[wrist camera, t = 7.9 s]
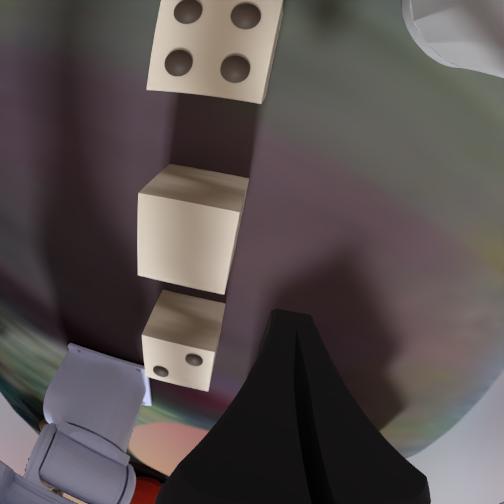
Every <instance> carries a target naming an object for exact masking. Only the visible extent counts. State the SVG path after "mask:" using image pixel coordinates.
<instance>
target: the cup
mask: <svg viewBox="0 0 504 504" xmlns="http://www.w3.org/2000/svg"><path fill="white" fill-rule="evenodd" d="M402 13H403V18H404V21H405V24H406V27H407V29H408V31H409V33H410V35H411V36H412V38H413V40H414V41H415V42H416V44H417V45H418V46H419V47H420V48H421V49H422V50H423V51H424V52H425V53H426V54H427V55H428V56H429V57H431V58H432V59H434V60H435V61H437V62H439V63H441V64H443V65H446V66H449V67H454V68H466V69H470V70H475V71H479V72H483V73H487V74H491V75H495V76H498V77H502V78H504V0H402Z"/></svg>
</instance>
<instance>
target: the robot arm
mask: <svg viewBox="0 0 504 504" xmlns="http://www.w3.org/2000/svg"><path fill="white" fill-rule="evenodd" d="M68 348H69V351H68V353H67V355H66V357H65V358H64V360H63V362H62V364H61V365H60V367H59V369H58V371H57V372H56V374H55V376H54V378H53V380H52V382H51V383H50V385H49V387H48V389H47V392H46V395H45V399H44V404H43V411H44V416H45V419H46V421H47V422H48V423H49V424H45V425H44V427H43V429H42V431H41V433H40V435H39V437H38V440H37V442H36V444H35V446H34V448H33V451H32V453H31V455H30V458H29V460H28V463H27V466H26V467H27V468H26V471H25V473H24V476H23V477H22V476H20V475H18V474H17V473H15V472H14V471H13V470H12V469H11V468H10V467H9V466H7V465H6V464H5V463H3V462H2V461H0V504H77V503H75V502H73V501H71V500H69V499H67V498H65V497H63V496H61V495H59V494H57V493H55V492H53V491H51V490H50V489H48V488H46V487H45V486H43V484H42V483H41V481H40V480H42V481H44V482H46V483H47V484H49V485H51V486H53V487H55V488H57V489H58V490H60V491H62V492H64V493H66V494H68V495H71V496H72V497H74V498H77V499H79V500H81V501H83V502H85V503H87V504H129V503H130V501H131V499H132V497H133V494H134V490H135V486H136V475H135V472H134V469H133V467H132V465H130V464H128V462H129V459H130V456H129V455H127V454H126V451H127V447H128V444H129V441H130V438H131V435H132V432H133V429H134V426H135V423H136V420H137V417H138V414H139V411H140V408H141V405H142V404H143V405H146V406H151V405H152V397H151V388H150V379H149V377H146V375H145V366H142V365H139V364H135V363H132V362H128V361H125V360H121V359H118V358H115V357H112V356H109V355H105V354H102V353H99V352H96V351H93V350H90V349H87V348H84V347H81V346H79V345H76V344H73V343H69V345H68ZM430 503H431V499H430V492H429V486H428V482H427V477H426V476H425V475H424V474H423V473H421V472H420V471H419V470H418V469H416V468H415V467H414V466H413V465H412V464H411V463H409V462H408V461H407V460H406V459H405V458H404V457H403V456H402V455H401V454H400V453H399V452H398V451H397V450H396V449H395V448H394V447H393V446H392V445H391V444H390V443H389V442H388V441H387V440H386V439H385V438H384V437H383V436H382V434H381V433H380V432H379V431H378V430H377V429H376V427H375V426H374V425H373V424H372V423H371V422H370V420H369V419H368V418H367V416H366V415H365V414H364V412H363V411H362V410H361V408H360V407H359V405H358V404H357V402H356V401H355V399H354V398H353V396H352V395H351V393H350V392H349V390H348V388H347V387H346V385H345V383H344V382H343V380H342V378H341V376H340V375H339V373H338V371H337V369H336V367H335V365H334V363H333V361H332V360H331V358H330V356H329V354H328V352H327V350H326V348H325V345H324V343H323V341H322V339H321V337H320V335H319V332H318V330H317V328H316V325H315V323H314V321H313V318H312V317H311V315H307V314H301V313H296V312H290V311H284V310H279V309H274V310H272V311H271V314H270V317H269V320H268V323H267V327H266V330H265V333H264V336H263V339H262V342H261V346H260V352H259V357H258V359H257V361H256V363H255V365H254V366H253V368H252V370H251V372H250V374H249V376H248V378H247V379H246V381H245V383H244V384H243V386H242V388H241V389H240V391H239V392H238V394H237V396H236V397H235V398H234V400H233V401H232V403H231V404H230V406H229V407H228V408H227V410H226V411H225V413H224V414H223V415H222V417H221V418H220V419H219V420H218V422H217V423H216V424H215V425H214V426H213V428H212V429H211V430H210V431H209V432H208V434H207V435H206V436H205V437H204V438H203V439H202V440H201V442H200V443H199V444H198V445H197V446H196V447H195V448H194V449H193V450H192V451H191V452H190V453H189V454H188V455H187V456H186V457H185V458H184V459H183V460H182V461H181V462H180V463H179V464H178V466H177V467H176V468H175V470H174V471H173V473H172V474H171V475H170V477H169V478H168V479H167V481H166V482H165V483H164V485H163V486H162V488H161V489H160V491H159V493H158V495H157V497H156V501H155V504H430ZM500 504H504V502H502V503H500Z"/></svg>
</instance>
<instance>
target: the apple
mask: <svg viewBox="0 0 504 504" xmlns="http://www.w3.org/2000/svg"><path fill="white" fill-rule="evenodd" d="M161 488H162V485H161V483H160V482H159V481H158V480H156V479H153V478H149V477H142V476H141V477H136V486H135V490H134V494H133V497H132V499H131V501H130V503H129V504H155V501H156V497H157V495H158V493H159V491H160V489H161Z"/></svg>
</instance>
